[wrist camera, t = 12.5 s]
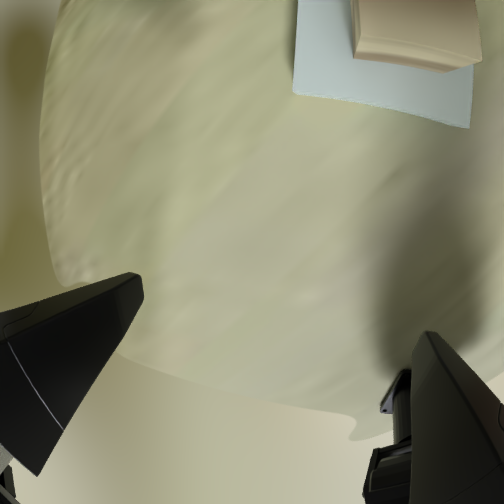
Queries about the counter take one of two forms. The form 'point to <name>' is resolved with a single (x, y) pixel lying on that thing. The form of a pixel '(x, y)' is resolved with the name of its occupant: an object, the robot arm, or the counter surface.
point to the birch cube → (417, 33)
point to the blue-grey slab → (371, 70)
